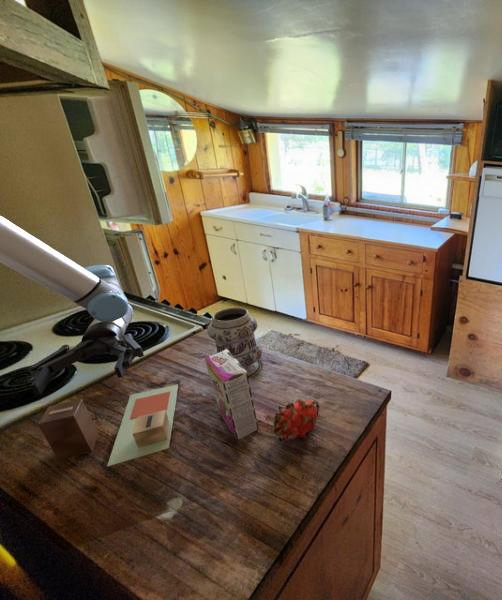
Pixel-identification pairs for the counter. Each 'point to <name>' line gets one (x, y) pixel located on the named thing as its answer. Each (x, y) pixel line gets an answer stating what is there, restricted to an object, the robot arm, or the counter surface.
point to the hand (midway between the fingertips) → (78, 381)
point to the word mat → (136, 407)
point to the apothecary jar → (237, 337)
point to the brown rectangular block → (69, 429)
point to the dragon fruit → (296, 419)
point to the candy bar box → (232, 393)
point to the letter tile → (151, 428)
